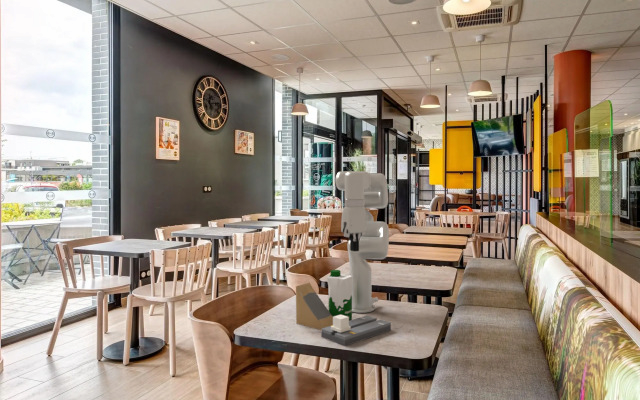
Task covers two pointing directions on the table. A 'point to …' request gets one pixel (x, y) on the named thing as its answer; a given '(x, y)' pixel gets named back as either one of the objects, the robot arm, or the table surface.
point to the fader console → (357, 330)
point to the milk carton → (340, 294)
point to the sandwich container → (311, 308)
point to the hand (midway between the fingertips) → (354, 250)
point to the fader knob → (340, 323)
